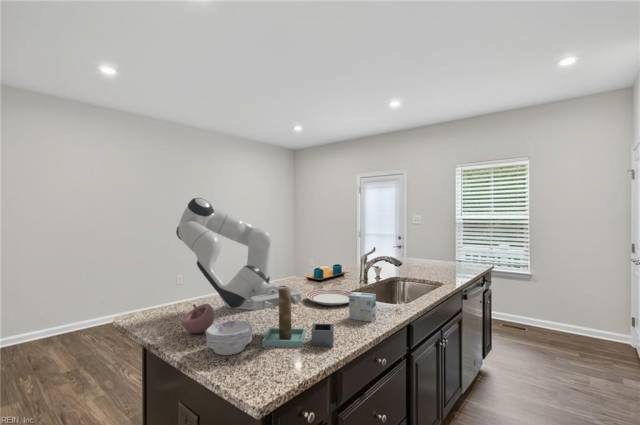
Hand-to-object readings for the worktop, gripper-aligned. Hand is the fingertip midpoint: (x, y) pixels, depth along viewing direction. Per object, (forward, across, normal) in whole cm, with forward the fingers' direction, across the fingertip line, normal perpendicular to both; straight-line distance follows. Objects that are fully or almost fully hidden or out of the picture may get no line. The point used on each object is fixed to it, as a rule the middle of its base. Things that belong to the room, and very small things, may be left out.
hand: (285, 304), depth 116 cm
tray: (0, 0, +13) cm, 13 cm away
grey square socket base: (+10, +9, +13) cm, 19 cm away
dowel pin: (0, 0, +12) cm, 12 cm away
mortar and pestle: (-27, -24, +14) cm, 39 cm away
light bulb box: (-2, +39, +14) cm, 42 cm away
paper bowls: (-4, -20, +14) cm, 24 cm away
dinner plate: (-33, +45, +14) cm, 57 cm away
